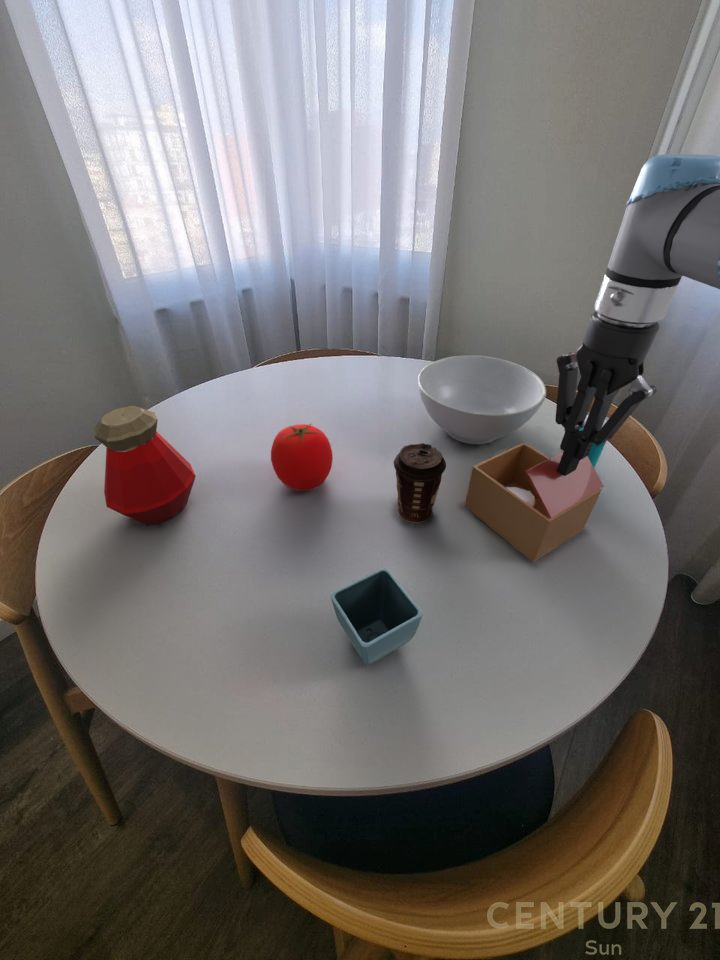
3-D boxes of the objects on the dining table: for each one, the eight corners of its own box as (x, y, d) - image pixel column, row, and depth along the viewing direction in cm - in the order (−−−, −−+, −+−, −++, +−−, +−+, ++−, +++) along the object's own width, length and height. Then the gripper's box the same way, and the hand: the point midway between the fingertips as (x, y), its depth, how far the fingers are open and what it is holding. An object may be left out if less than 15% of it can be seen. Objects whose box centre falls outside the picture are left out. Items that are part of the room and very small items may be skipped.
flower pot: (331, 630, 62) (328, 593, 56) (383, 603, 65) (385, 565, 60) (363, 684, 56) (363, 648, 50) (418, 651, 60) (424, 614, 54)
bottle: (137, 550, 74) (88, 456, 61) (103, 512, 81) (53, 420, 68) (217, 503, 82) (190, 411, 69) (180, 473, 89) (149, 384, 76)
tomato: (344, 489, 85) (342, 436, 77) (289, 509, 81) (280, 455, 73) (318, 456, 93) (313, 404, 85) (266, 473, 89) (256, 420, 81)
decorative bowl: (396, 410, 108) (399, 364, 100) (491, 392, 114) (501, 348, 106) (445, 475, 88) (453, 425, 80) (557, 450, 94) (575, 401, 87)
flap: (601, 486, 70) (603, 486, 70) (549, 518, 65) (551, 518, 64) (578, 443, 71) (580, 442, 71) (524, 471, 66) (526, 470, 65)
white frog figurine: (524, 494, 83) (529, 479, 81) (539, 519, 78) (545, 504, 75) (483, 498, 82) (487, 482, 80) (496, 523, 77) (500, 508, 75)
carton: (582, 530, 77) (601, 489, 70) (533, 562, 71) (549, 521, 65) (512, 481, 87) (523, 442, 81) (464, 506, 81) (472, 466, 75)
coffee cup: (427, 492, 84) (434, 436, 76) (447, 521, 78) (457, 464, 70) (385, 501, 82) (387, 446, 74) (402, 532, 76) (407, 475, 68)
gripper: (559, 306, 54) (516, 457, 70) (663, 342, 46) (588, 504, 61) (596, 295, 58) (547, 442, 73) (699, 326, 49) (619, 484, 64)
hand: (566, 470), depth 67 cm, fingers closed
